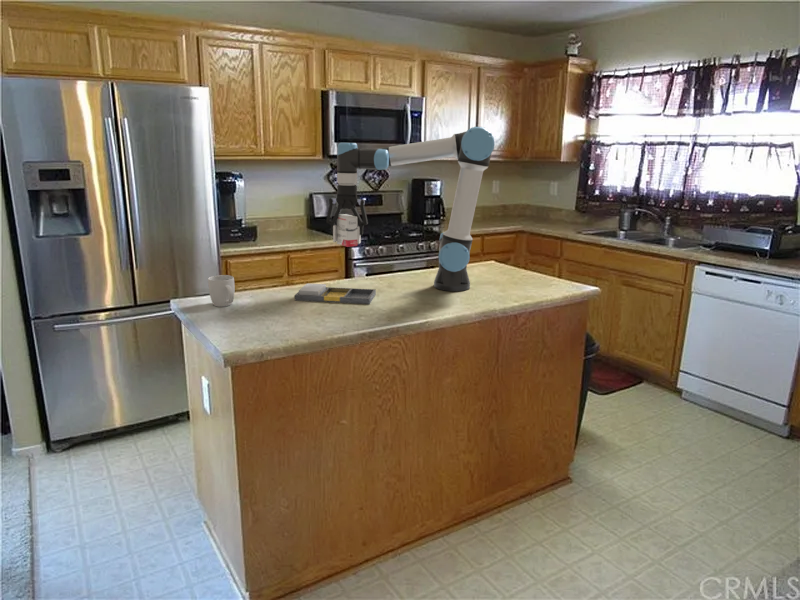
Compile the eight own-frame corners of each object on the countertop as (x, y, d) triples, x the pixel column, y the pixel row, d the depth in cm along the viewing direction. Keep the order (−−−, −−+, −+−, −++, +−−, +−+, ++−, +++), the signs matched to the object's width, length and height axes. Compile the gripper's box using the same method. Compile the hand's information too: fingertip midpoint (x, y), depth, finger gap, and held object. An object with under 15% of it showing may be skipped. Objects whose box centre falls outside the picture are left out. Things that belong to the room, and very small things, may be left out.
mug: (205, 303, 201) (203, 277, 199) (229, 299, 207) (227, 273, 205) (221, 311, 192) (219, 284, 190) (244, 307, 198) (243, 280, 195)
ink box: (358, 246, 216) (358, 216, 213) (347, 247, 213) (347, 216, 210) (346, 242, 222) (346, 213, 219) (336, 243, 219) (335, 214, 216)
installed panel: (325, 291, 219) (325, 284, 218) (318, 299, 208) (318, 291, 207) (307, 290, 220) (307, 283, 219) (299, 298, 209) (298, 290, 208)
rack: (375, 294, 218) (375, 289, 218) (369, 304, 205) (369, 298, 204) (305, 291, 221) (305, 285, 221) (294, 300, 208) (294, 294, 207)
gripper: (376, 184, 213) (375, 242, 219) (322, 182, 216) (323, 239, 222) (372, 186, 206) (372, 245, 212) (316, 183, 209) (317, 242, 215)
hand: (346, 242), depth 217 cm, fingers closed on ink box, 9 cm apart
